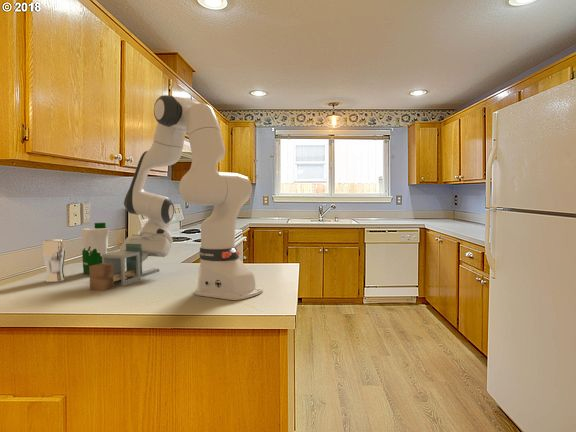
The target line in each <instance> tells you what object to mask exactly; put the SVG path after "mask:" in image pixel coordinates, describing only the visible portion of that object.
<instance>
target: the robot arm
mask: <svg viewBox="0 0 576 432" xmlns="http://www.w3.org/2000/svg"><path fill="white" fill-rule="evenodd" d="M153 116H154V118H155V121H156V122H157V123H156V127H155V131H154V135H153V139H152V143H151V146H150V147H149V149H148V150H146V151H144V152H143V153H142V154H141V156H140V158H139V160H138V163H137V166H136V168H135V171H134V173H133V178H132V180H131V184H130V186H129V189H128V191H127V192H126V194H125V198H124V201H123V205H124V207H125V209H126V211H127V212H128V213H129V214H132V215H138V216H143V217H146V218H148V220H147V221H146V223H144V225H143V227H142V228H141V231H140V232H139V234H131V235H130V236H127V237H126V238H125V240H124V241H123V242H122V243H121V245H120V246H119V251H126V244H128V243H130V244H142V263H143V262H144V261H145V260H147V259H148V258H149V257H156V258H158V257H159V258H165V257H167V256H168V255H169V253H170V250H171V247H172V244H173V242H174V239H173V237H172V235H171V234H170V233H169V232H168V231H167V230H168V228H169V227H170V225H171V223H172V221H173V218H174V216H175V212H176V207H175V205H174V203H173V201H172V200H171V198H170V197H167V196H165V195H160V194H158V193H157V194H156V193H153V192H149V191H147V190H145V189H144V187H145V183H146V181H147V178H148V175H149V172H150V171H151V170H152V169H154V168H162V167H169V166H172V165H175V164H176V163H177V162H179V161H180V160H181V156H182V155H183V149H184V144H185V138H186V137H185V136H186V134H187V136H188V137H187V138H188V141H189V145H190V147H189V148H190V151H191V165H190V168H189V170H188V171H187V172H186V173H184V175H183V176H182V178H181V179H180V182H179V187H178V190H179V195H180V197H181V199H182V200H183V201H184V202H185V203H186V204H190V205H195V206H201V207H202V206H206V207H207V206H213V210H212V212H211V214H210V216H209V217H207V218H205V219H204V220H203V221H202V223H201V224H200V248H199V251H198V253H199V259H200V264H199V268H198V276H197V277H198V278H197V287H196V290H195V293H194V295H195V296H201V297H202V296H203V297H206V298H207V297H208V298H215V299H223V300H230V301H238V300H244V299H248V298H251V297H255V296H257V295H260V294H262V293H263V291H264V290H263V287H260V286H256V279H255V274H254V273H253V271H252V270H251V269H249V267H247V266H246V264H244V263H243V262H242V260H241V259H240V256H239V255H241V254H242V253H241V252H242V250H238V248H237V247H236V246H235V244H236V243H235V242H236V224H237V220H238V219H237V218H238V216H239V214H240V211H241V209H242V207H244V205H245V203H247V202H248V201H249V200H250V198H251V196H252V193H253V185H252V182H251V180H250V178H248V176H246V175H243V174H241V173H237V172H227V171H226V172H225V171H219V170H218V168H217V164H218V163H220V162H221V161H222V160H223V159H224V157H225V155H226V147H225V143H224V138H223V134H222V130H221V127H220V122H219V121H218V118H217V115H216V114H215V111H214V109H213V107H211V106H210V105H209V104H207V103H204V102H199V101H196V100H193V99H190V98H185V97H180V96H173V95H168V94H165V95H164V94H163V95H161V96H159V97H158V98H157V99H156V100H155V103H154V107H153Z"/></svg>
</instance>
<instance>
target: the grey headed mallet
mask: <svg viewBox="0 0 576 432" xmlns="http://www.w3.org/2000/svg"><path fill="white" fill-rule="evenodd" d="M132 256H136V275H133V276H130V277H127V278H125V271H126V258H127V257H132ZM102 264H113V275H115V274H118V273H121V279H120V280H121V283H120V285H121V286H122V287H123V286H127V285H130V284H133V283H136V282H139V281H141V278H142V277H143V278H144V277H145V276H148V275H151V274H154V273H158V272H160V268H155V267H154V268H153V267H152V268H150V269H147V270H142V275H140V252H132V251H120V250H118V251H112V252H108V254H103V255H102Z"/></svg>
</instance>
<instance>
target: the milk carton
mask: <svg viewBox="0 0 576 432" xmlns="http://www.w3.org/2000/svg"><path fill="white" fill-rule="evenodd" d="M109 230H110V228H108V227H107V226H106V222H94V227H86V228H81V229H80V231H81V250H82V251H81V254H82V255H81V256H82V269H83V274H87V275H89V276H90V272H89V266H92V265H96V264H100V263H102V255H103V254H108V253H109Z"/></svg>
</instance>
